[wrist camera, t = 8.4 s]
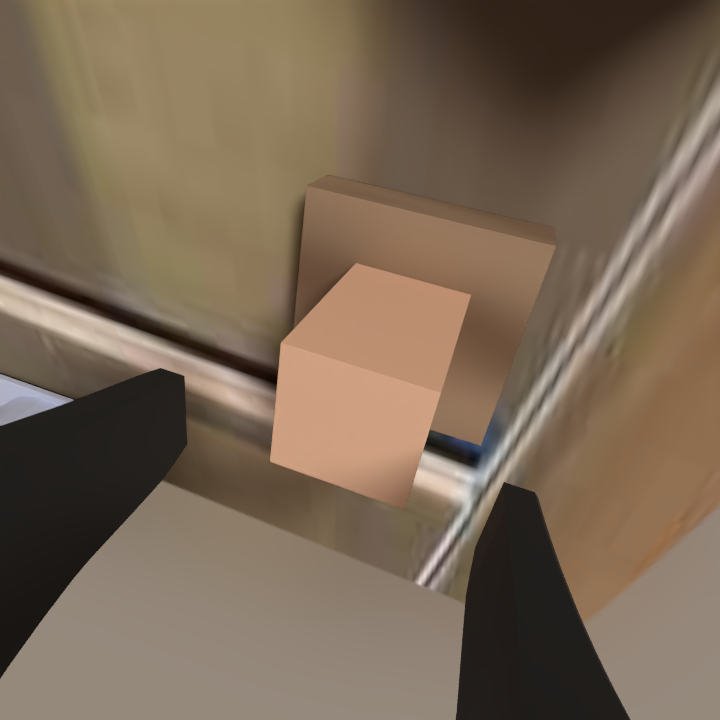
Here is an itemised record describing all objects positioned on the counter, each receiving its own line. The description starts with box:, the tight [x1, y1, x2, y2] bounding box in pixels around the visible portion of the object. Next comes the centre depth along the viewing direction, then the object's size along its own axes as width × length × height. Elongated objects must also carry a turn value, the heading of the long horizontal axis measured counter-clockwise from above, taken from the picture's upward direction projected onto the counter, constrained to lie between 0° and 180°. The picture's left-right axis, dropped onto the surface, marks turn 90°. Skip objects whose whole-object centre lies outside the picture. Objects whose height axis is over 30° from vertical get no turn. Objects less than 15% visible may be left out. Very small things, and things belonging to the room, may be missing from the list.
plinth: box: [293, 175, 556, 446], centre depth 19 cm, size 8×8×2 cm
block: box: [270, 263, 471, 510], centre depth 15 cm, size 4×4×6 cm
